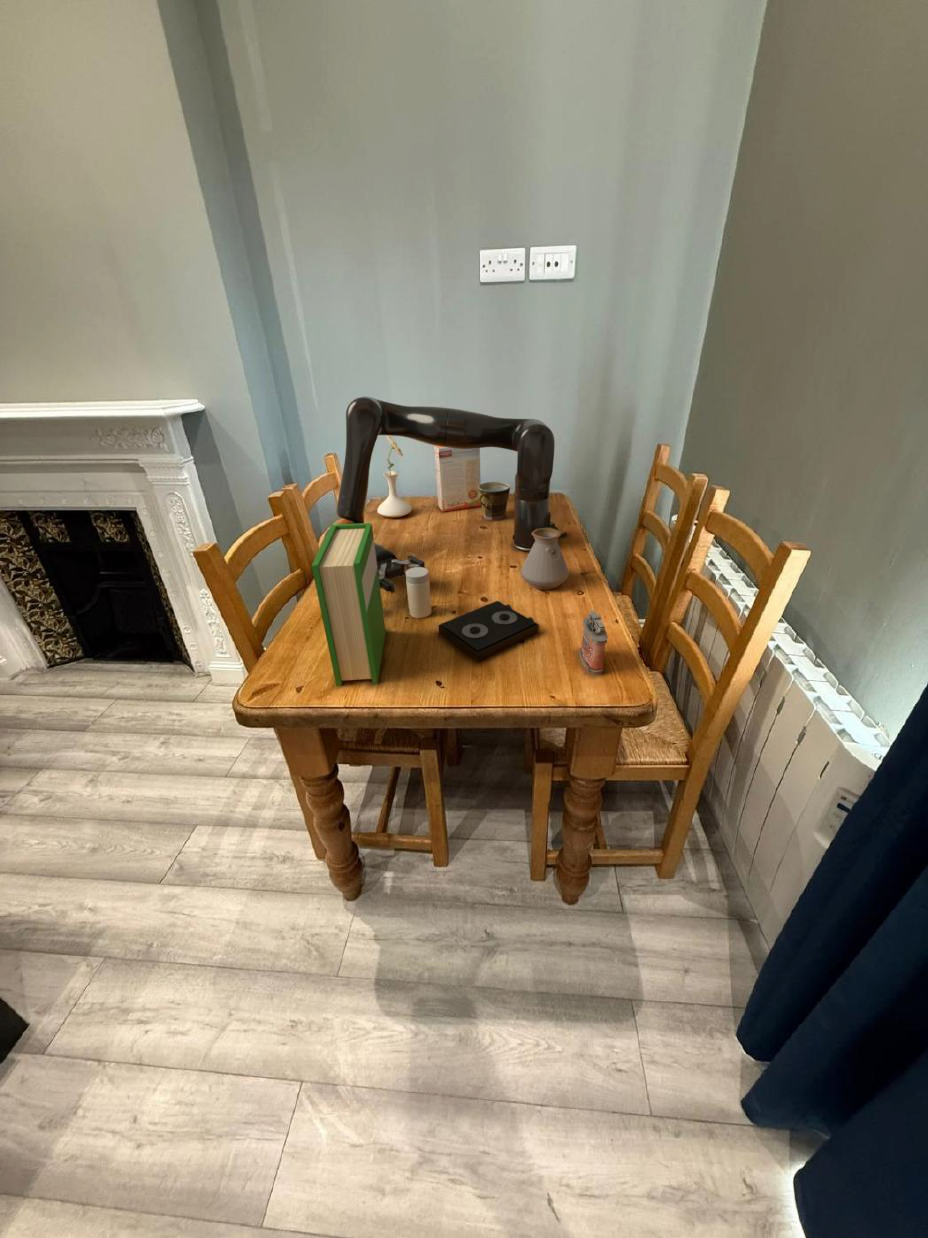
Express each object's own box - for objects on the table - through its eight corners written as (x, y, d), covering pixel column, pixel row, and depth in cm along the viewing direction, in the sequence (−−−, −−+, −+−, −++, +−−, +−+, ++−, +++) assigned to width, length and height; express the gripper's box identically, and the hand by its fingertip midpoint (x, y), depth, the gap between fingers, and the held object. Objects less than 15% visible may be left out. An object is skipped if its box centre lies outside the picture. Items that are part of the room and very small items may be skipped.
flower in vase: (410, 520, 163) (403, 439, 150) (375, 520, 163) (365, 440, 150) (414, 506, 174) (407, 430, 161) (381, 507, 174) (372, 431, 161)
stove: (500, 607, 113) (500, 596, 112) (541, 631, 104) (542, 619, 103) (438, 634, 105) (437, 622, 103) (477, 662, 96) (477, 650, 94)
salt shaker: (423, 604, 116) (420, 564, 110) (436, 612, 112) (433, 572, 107) (405, 611, 113) (400, 571, 108) (417, 620, 110) (413, 579, 104)
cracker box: (475, 501, 177) (474, 439, 166) (481, 506, 172) (480, 443, 161) (437, 506, 173) (433, 443, 162) (442, 512, 168) (438, 447, 157)
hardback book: (377, 683, 91) (359, 563, 79) (336, 685, 91) (311, 565, 78) (385, 631, 106) (371, 522, 94) (350, 632, 106) (331, 524, 94)
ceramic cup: (489, 509, 169) (489, 480, 164) (515, 515, 164) (516, 484, 158) (467, 521, 160) (466, 490, 155) (493, 527, 155) (493, 495, 150)
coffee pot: (519, 571, 128) (520, 515, 120) (564, 571, 127) (569, 514, 120) (523, 615, 110) (525, 552, 102) (576, 615, 109) (583, 551, 101)
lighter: (576, 650, 98) (580, 606, 93) (593, 649, 98) (598, 604, 93) (588, 675, 91) (594, 629, 86) (606, 674, 91) (613, 627, 86)
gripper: (346, 553, 117) (379, 577, 106) (398, 537, 125) (435, 558, 113) (350, 582, 121) (383, 608, 110) (401, 565, 128) (437, 588, 117)
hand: (410, 582), depth 112 cm, fingers open, 8 cm apart
